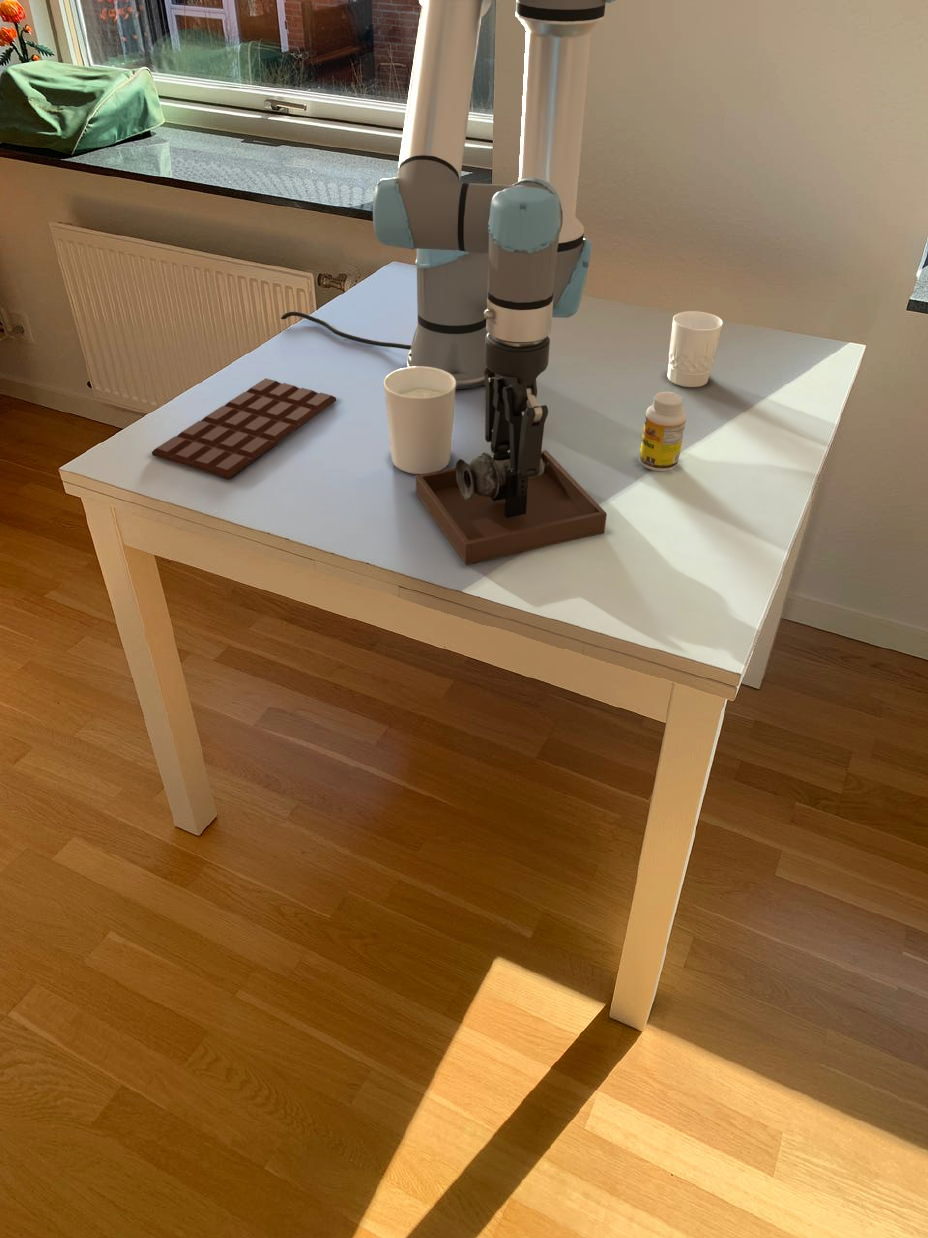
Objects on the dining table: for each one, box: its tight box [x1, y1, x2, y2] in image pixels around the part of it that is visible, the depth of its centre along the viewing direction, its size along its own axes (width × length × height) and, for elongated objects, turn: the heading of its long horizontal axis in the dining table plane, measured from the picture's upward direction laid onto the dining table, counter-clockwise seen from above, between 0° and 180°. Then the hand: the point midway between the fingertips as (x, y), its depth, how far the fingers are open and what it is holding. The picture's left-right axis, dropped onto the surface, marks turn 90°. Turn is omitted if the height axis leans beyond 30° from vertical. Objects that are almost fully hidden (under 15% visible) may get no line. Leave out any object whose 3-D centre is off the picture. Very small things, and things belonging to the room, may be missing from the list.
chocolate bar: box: [151, 378, 337, 480], centre depth 144 cm, size 27×14×1 cm, turn 153°
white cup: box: [666, 310, 724, 388], centre depth 157 cm, size 8×8×10 cm
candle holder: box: [383, 366, 457, 475], centre depth 134 cm, size 10×10×12 cm
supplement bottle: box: [638, 391, 687, 472], centre depth 135 cm, size 6×6×10 cm
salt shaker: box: [455, 451, 549, 501], centre depth 123 cm, size 6×6×12 cm
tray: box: [415, 449, 608, 565], centre depth 126 cm, size 19×17×3 cm
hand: (508, 505), depth 126 cm, fingers closed on salt shaker, 4 cm apart
